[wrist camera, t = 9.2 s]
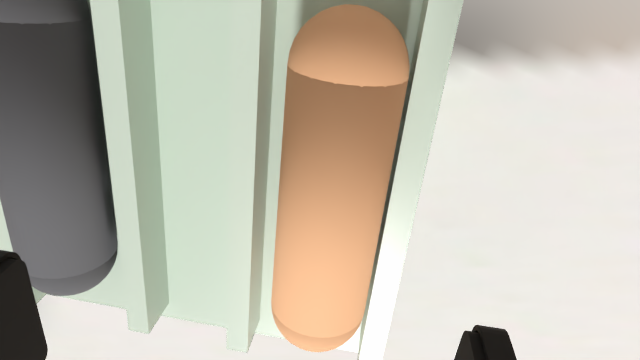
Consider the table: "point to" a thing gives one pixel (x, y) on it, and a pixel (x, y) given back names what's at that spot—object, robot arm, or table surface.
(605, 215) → the table surface
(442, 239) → the table surface
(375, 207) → the tan capsule
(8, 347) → the robot arm
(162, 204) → the rack
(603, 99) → the table surface
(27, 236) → the gray pill-shaped rod
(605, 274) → the table surface
